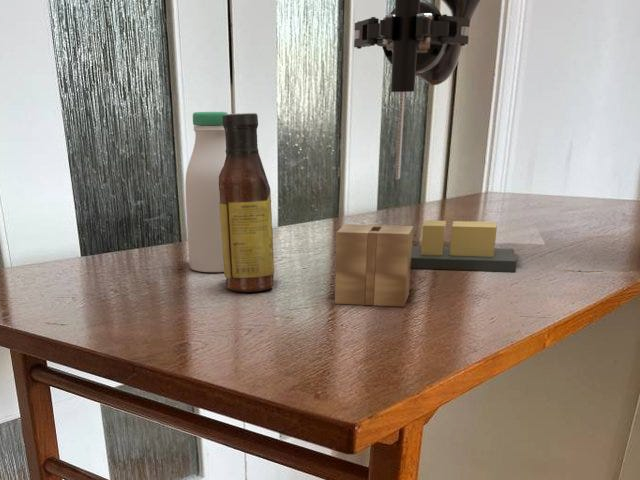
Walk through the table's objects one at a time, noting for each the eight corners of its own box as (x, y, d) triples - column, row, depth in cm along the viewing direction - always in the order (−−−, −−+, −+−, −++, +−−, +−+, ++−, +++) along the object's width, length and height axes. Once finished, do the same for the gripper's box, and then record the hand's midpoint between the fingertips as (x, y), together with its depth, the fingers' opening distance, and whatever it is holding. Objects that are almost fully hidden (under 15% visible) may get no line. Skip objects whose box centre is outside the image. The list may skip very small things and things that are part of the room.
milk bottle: (242, 273, 103) (237, 111, 95) (186, 273, 104) (176, 112, 95) (245, 263, 110) (241, 111, 101) (193, 263, 110) (184, 111, 102)
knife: (409, 177, 88) (421, -15, 80) (408, 179, 86) (420, -18, 78) (387, 177, 89) (397, -14, 80) (385, 179, 87) (394, -17, 78)
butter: (512, 259, 111) (517, 220, 109) (515, 272, 103) (520, 230, 100) (403, 255, 115) (405, 217, 112) (397, 268, 106) (399, 227, 104)
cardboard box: (408, 295, 91) (413, 225, 87) (404, 307, 85) (409, 233, 82) (342, 292, 92) (344, 224, 89) (334, 303, 87) (336, 231, 83)
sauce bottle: (284, 288, 95) (283, 112, 86) (249, 296, 91) (244, 113, 82) (247, 281, 99) (243, 112, 90) (212, 289, 95) (203, 113, 86)
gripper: (360, 5, 93) (338, -14, 78) (476, 0, 90) (476, -20, 75) (358, 74, 96) (336, 68, 81) (470, 71, 93) (469, 65, 78)
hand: (404, 26), depth 78 cm, fingers closed on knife, 2 cm apart
